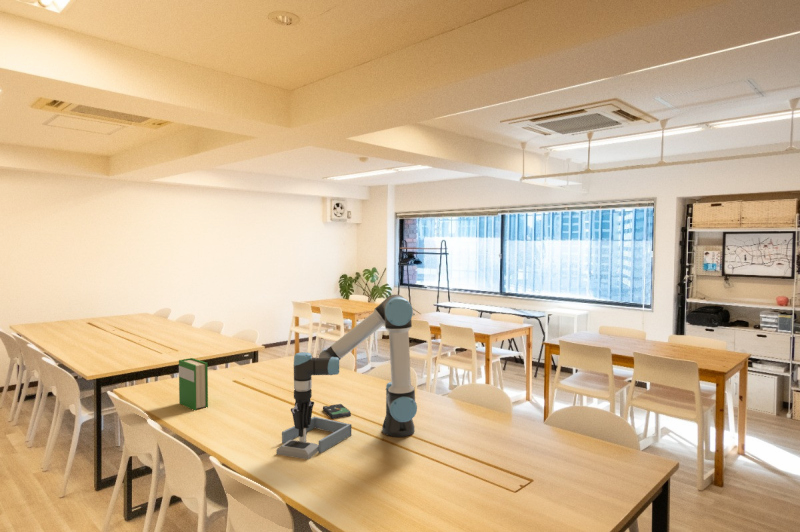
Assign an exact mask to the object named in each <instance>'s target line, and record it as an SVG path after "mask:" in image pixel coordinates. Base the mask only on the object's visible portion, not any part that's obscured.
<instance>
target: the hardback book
mask: <svg viewBox="0 0 800 532" xmlns="http://www.w3.org/2000/svg"><path fill="white" fill-rule="evenodd" d="M208 367H209V366H208V362H205V361H203V360H199V359H196V358H193V357H189V358H184V359H179V360H178V390H179V391H178V393H179V394H178V397H179V401H178V402H179V403H180V404H179V405H182V406H183V405H184V407H186V408H188V409H190V410H192V409H193V410H192V411H194V410H196V411H197V409H201V408H206V407H207V408H209V388H208V387H209V385H208V384H209V381H208V380H209V378H208V373H209V372H208V371H209V370H208Z"/></svg>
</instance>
